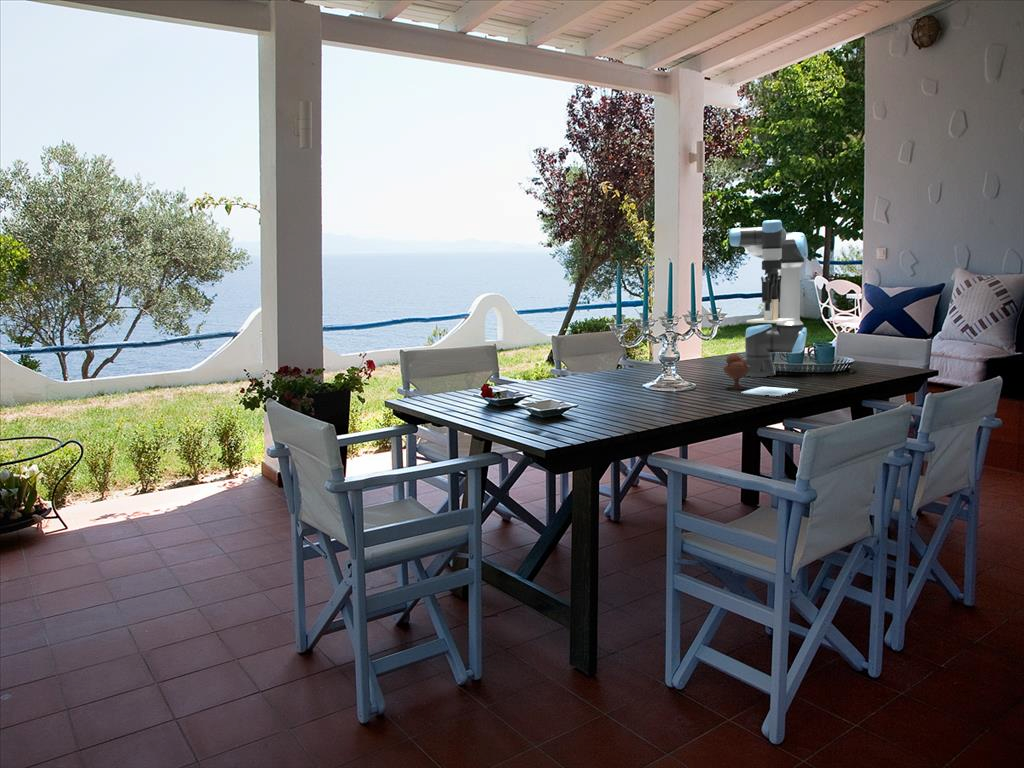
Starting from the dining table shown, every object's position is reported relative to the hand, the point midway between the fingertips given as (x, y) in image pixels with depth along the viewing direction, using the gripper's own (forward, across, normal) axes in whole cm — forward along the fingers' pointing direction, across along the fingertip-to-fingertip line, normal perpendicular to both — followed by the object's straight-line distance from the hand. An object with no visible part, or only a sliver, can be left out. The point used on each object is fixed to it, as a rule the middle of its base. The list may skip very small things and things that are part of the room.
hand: (771, 318), depth 339 cm
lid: (+1, 0, 0) cm, 1 cm away
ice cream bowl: (+30, -2, -16) cm, 34 cm away
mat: (+30, 0, 0) cm, 30 cm away
